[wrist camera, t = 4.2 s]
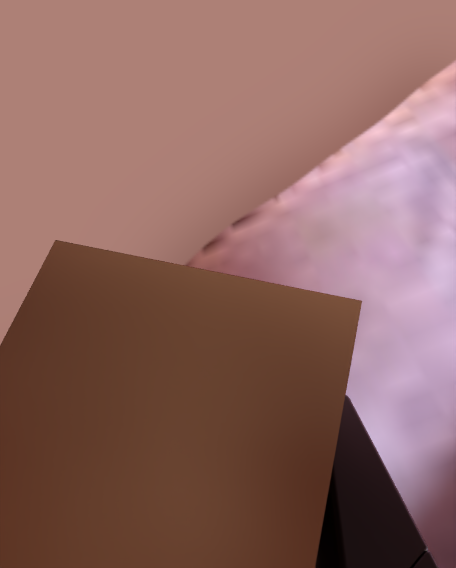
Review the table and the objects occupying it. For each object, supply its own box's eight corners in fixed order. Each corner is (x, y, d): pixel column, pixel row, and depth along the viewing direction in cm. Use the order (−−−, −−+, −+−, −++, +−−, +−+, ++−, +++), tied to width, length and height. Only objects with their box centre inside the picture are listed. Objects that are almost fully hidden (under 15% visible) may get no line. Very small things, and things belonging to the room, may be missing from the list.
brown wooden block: (296, 517, 13) (264, 854, 3) (189, 476, 15) (-126, 585, 4) (319, 399, 15) (361, 301, 4) (221, 371, 16) (55, 239, 5)
